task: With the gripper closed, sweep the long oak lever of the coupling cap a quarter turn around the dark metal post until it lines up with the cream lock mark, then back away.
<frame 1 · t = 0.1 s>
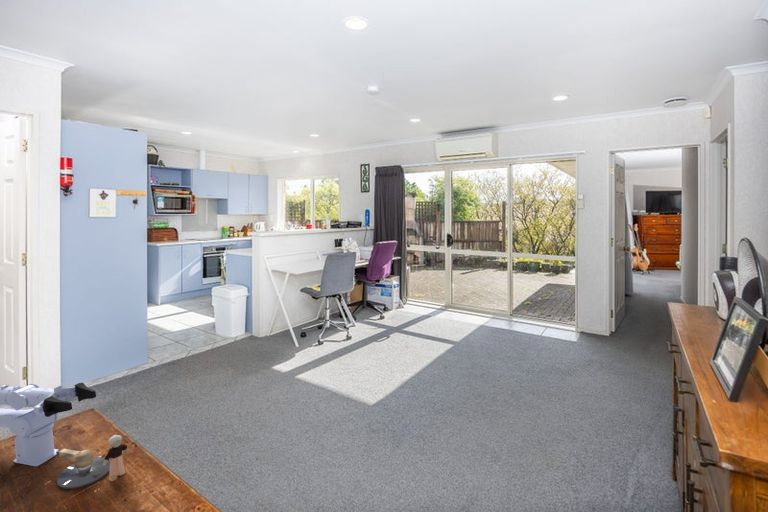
hand: (83, 400, 122), 22 cm above the table, tool horizontal, fingers open, 7 cm apart
coupling cap: (74, 457, 122), point 5 cm above the table, hinge at 0.0°
post base: (85, 473, 122), on the table
grandmother figurine: (118, 475, 121), on the table
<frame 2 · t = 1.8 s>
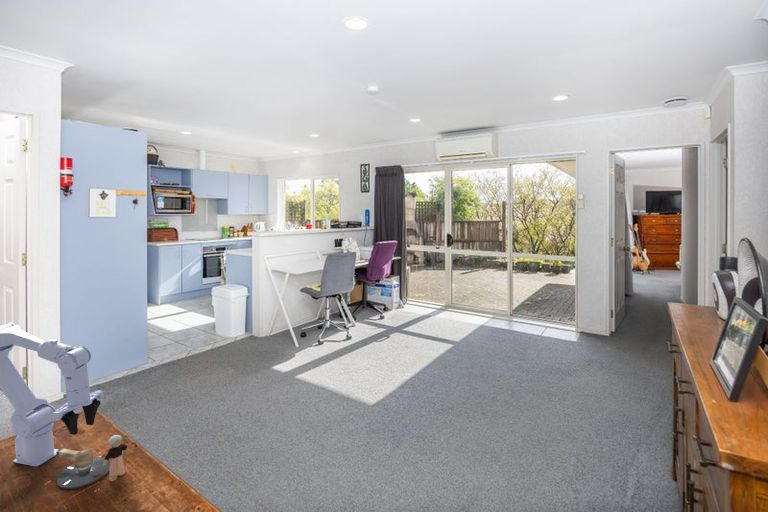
hand: (82, 429, 127), 10 cm above the table, tool pointing down, fingers open, 5 cm apart
nothing on the table moved.
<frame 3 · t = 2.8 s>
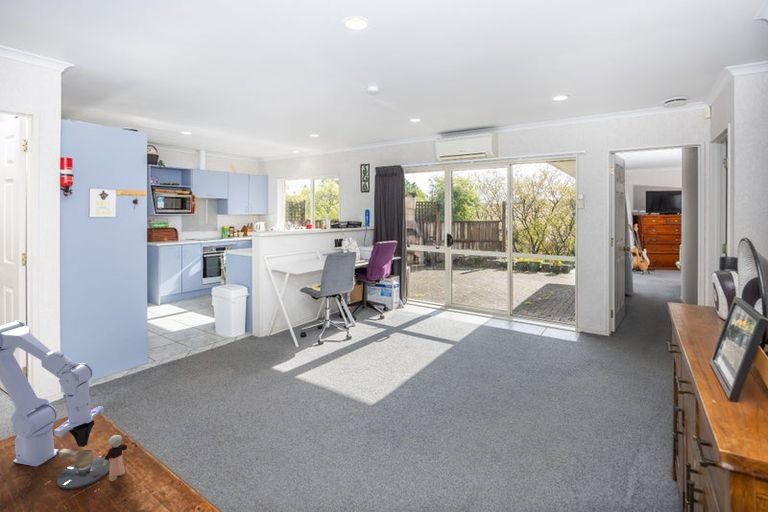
hand: (82, 445, 128), 5 cm above the table, tool pointing down, fingers closed
nothing on the table moved.
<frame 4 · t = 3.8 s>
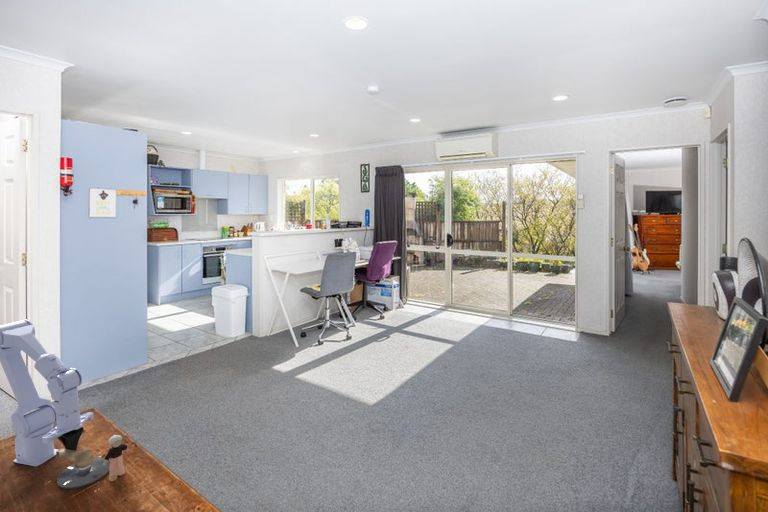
hand: (71, 452, 124), 5 cm above the table, tool pointing down, fingers closed
coupling cap: (74, 457, 122), point 5 cm above the table, hinge at 0.2°, touching gripper
everything else where it was.
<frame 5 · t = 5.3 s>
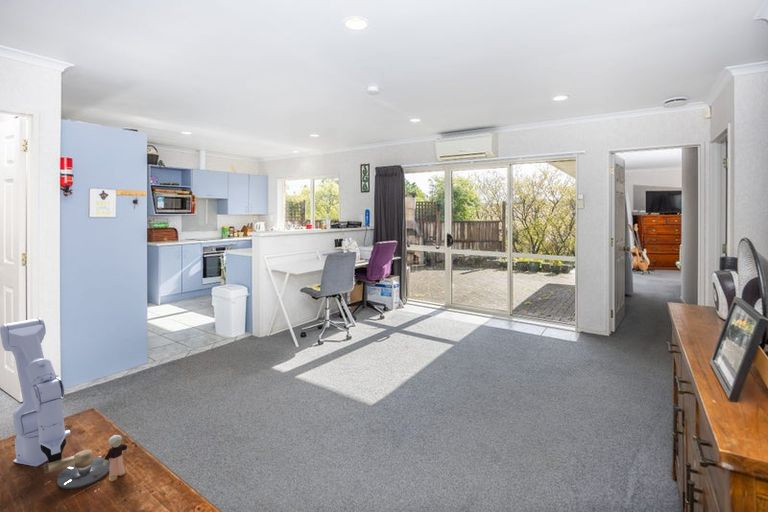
hand: (55, 465, 118), 5 cm above the table, tool pointing down, fingers closed, pressing on coupling cap
coupling cap: (69, 463, 119), point 5 cm above the table, hinge at 51.5°, touching gripper
everything else where it was.
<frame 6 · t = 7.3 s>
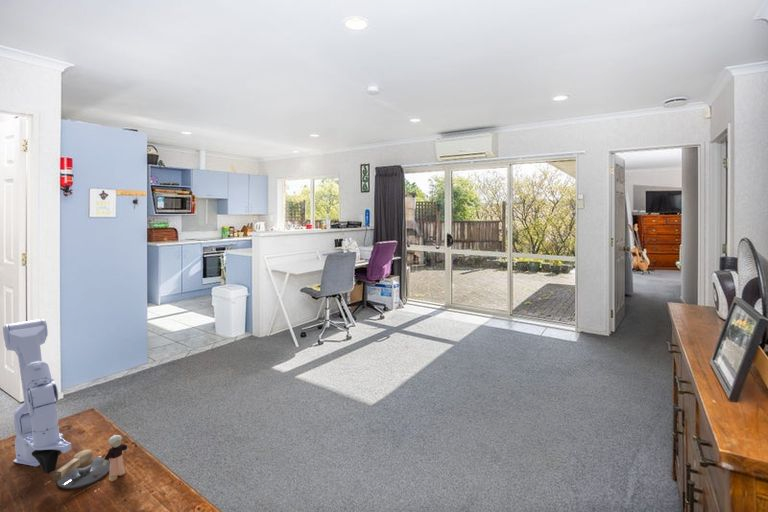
hand: (50, 471, 116), 5 cm above the table, tool pointing down, fingers closed
coupling cap: (73, 466, 118), point 5 cm above the table, hinge at 94.8°
everything else where it was.
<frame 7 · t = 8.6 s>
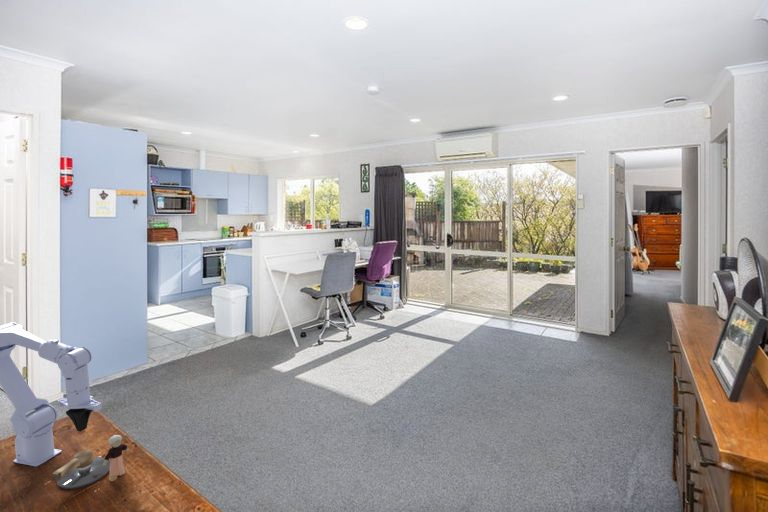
hand: (82, 429, 126), 10 cm above the table, tool pointing down, fingers closed
nothing on the table moved.
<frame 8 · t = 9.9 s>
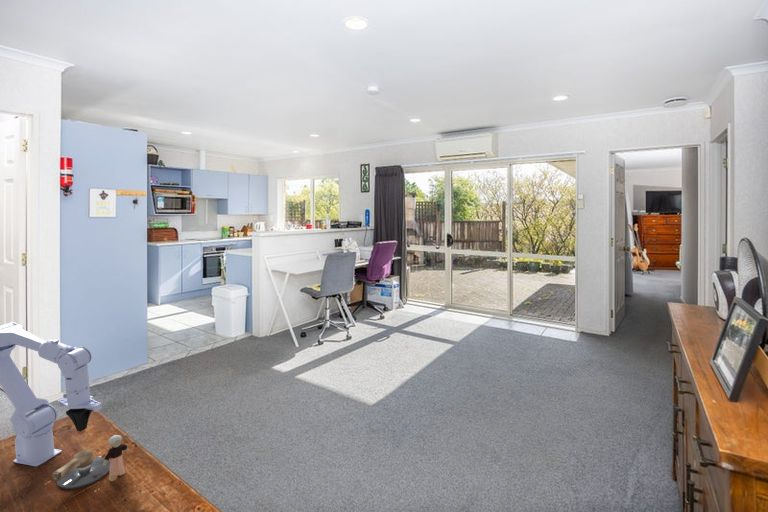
hand: (82, 429, 126), 10 cm above the table, tool pointing down, fingers closed
nothing on the table moved.
at the end: coupling cap at +95° (first picture: +0°); the gripper is holding nothing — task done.
